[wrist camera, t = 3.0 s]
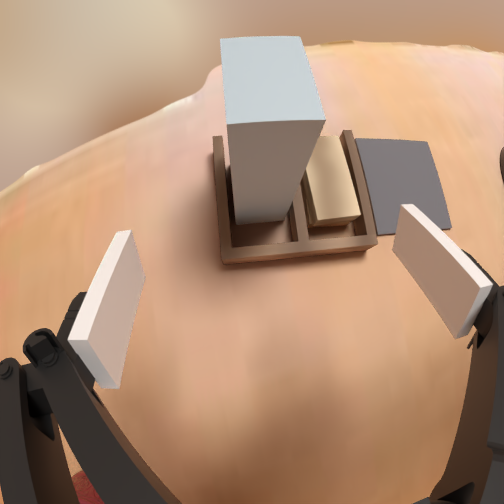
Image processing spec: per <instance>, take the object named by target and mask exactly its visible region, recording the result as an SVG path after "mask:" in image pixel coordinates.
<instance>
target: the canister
mask: <svg viewBox="0 0 504 504" xmlns="http://www.w3.org/2000/svg"><path fill="white" fill-rule="evenodd" d="M71 478H72V481H73V485H74V488H75V491H76V494H77V497H78V500H79V502H80V504H104V502H103V501H102V499H101V498H100V496H99V495H98V493H97V492H96V490H95V489H94V487H93V486H92V484H91V482H90V481H89V479H88V478H87V476H86V474H85V473H84V471H81V472H78V473H76V474H75V475H74V476H73V477H71Z"/></svg>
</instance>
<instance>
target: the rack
mask: <svg viewBox="0 0 504 504" xmlns="http://www.w3.org/2000/svg"><path fill="white" fill-rule="evenodd" d="M339 139H340V142H341V145H342V149H343V152H344V155H345V158H346V162H347V165H348V169H349V172H350V176H351V179H352V183H353V187H354V190H355V194H356V198H357V202H358V206H359V210H360V214H361V215H360V216H359V217H357V218H356V219H355V220H354V221H353V222H354V227H355V233H356V236H351V237H340V238H330V239H319V240H309V236H308V230H307V223H306V216H305V210H304V204H303V198H302V192H301V186H300V184H299V186H298V189H297V191H296V194H295V196H294V198H293V201H292V203H291V205H290V208H289V217H290V224H291V231H292V239H293V242H287V243H277V244H266V245H256V246H246V247H235V248H232V239H231V228H230V217H229V206H228V194H227V182H226V170H225V158H224V147H223V138H222V136H213V151H214V167H215V182H216V196H217V210H218V222H219V235H220V247H221V258H222V262H223V264H224V265H226V264H237V263H247V262H257V261H267V260H277V259H287V258H296V257H306V256H316V255H325V254H335V253H344V252H353V251H363V250H368V249H370V248H372V247H373V246H375V245H377V244H378V241H377V236H376V230H375V225H374V220H373V215H372V210H371V206H370V201H369V196H368V192H367V188H366V183H365V179H364V175H363V171H362V167H361V163H360V159H359V155H358V152H357V148H356V144H355V141H354V137H353V134H352V130H343V132H342V134H341V136H340V138H339Z"/></svg>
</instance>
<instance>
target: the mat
mask: <svg viewBox="0 0 504 504" xmlns="http://www.w3.org/2000/svg"><path fill="white" fill-rule="evenodd" d="M355 144H356V147H357V151H358V155H359V158H360V162H361V166H362V170H363V174H364V178H365V182H366V187H367V191H368V195H369V200H370V204H371V209H372V214H373V219H374V224H375V229H376V235H386V234H396V229H397V224H398V218H399V212H400V207H401V205H402V204H413V205H415V206H416V207H417V208H418V209H419V210H420V211H421V212H422V213H423V214H425V215H426V216H427V217H428V218H429V219H430V220H431V221H432V222H433V223H434V224H435V225H436V226H437V227H439V228H440V229H450V228H452V226H451V222H450V218H449V213H448V209H447V205H446V201H445V198H444V194H443V190H442V187H441V183H440V180H439V176H438V173H437V170H436V167H435V163H434V160H433V157H432V154H431V151H430V148H429V146H428V143H427V142H424V141H410V140H392V139H363V138H355Z"/></svg>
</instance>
